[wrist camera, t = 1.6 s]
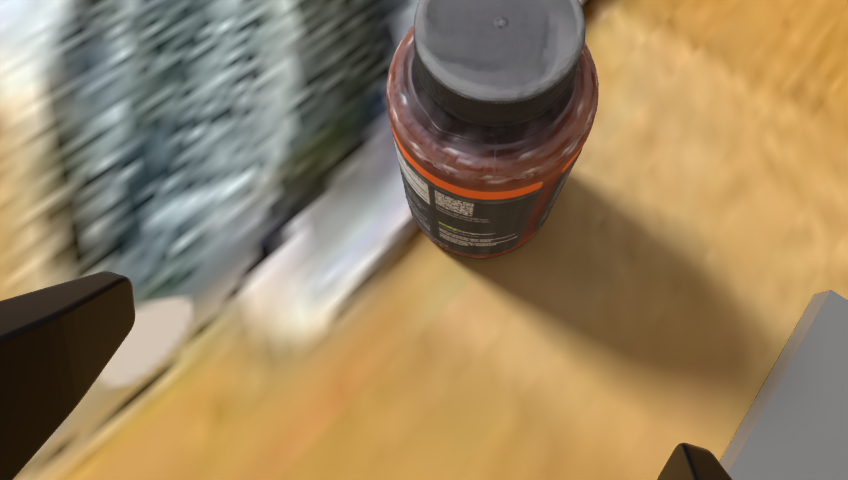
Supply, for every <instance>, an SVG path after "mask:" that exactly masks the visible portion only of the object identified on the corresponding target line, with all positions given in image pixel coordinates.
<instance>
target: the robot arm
mask: <svg viewBox="0 0 848 480" xmlns="http://www.w3.org/2000/svg"><path fill="white" fill-rule="evenodd" d="M134 321H135V308H134V298H133V287H132V283H131V281H130V279H129V278H127V277H125V276H122V275H119V274H115V273H112V272H107V271H104V272H99V273H96V274H93V275H89V276H86V277H82V278H79V279H75V280H72V281H68V282H65V283H61V284H58V285H54V286H51V287H47V288H44V289H40V290H37V291H34V292H30V293H27V294H23V295H20V296H16V297H13V298H9V299H6V300H2V301H0V480H13V479H14V478H15V476H16V475H17V474H18V473H19V472H20V471H21V469H22V468H23V467H24V466H25V465H26V464H27V463H28V461H29V460H30V459H31V458H32V457H33V456H34V455H35V453H36V452H37V451H38V450H39V449H40V448H41V447H42V445H43V444H44V443H45V442H46V441H47V440H48V439H49V437H50V436H51V435H52V434H53V433H54V432H55V431H56V429H57V428H58V427H59V426H60V425H61V424H62V423H63V421H64V420H65V419H66V418H67V417H68V416H69V414H70V413H71V412H72V411H73V410H74V408H75V407H76V406H77V405H78V403H79V402H80V401H81V399H82V398H83V397H84V396H85V394H86V393H87V391H88V390H89V389H90V387H91V386H92V384H93V383H94V382H95V380H96V379H97V377H98V376H99V375H100V373H101V372H102V370H103V369H104V368H105V366H106V365H107V363H108V362H109V360H110V359H111V358H112V356H113V355H114V353H115V352H116V351H117V349H118V348H119V346H120V345H121V344H122V342H123V341H124V339H125V338H126V337H127V335H128V334H129V332H130V331H131V329H132V327H133V324H134ZM657 480H732V478H731V477H730V476H729V474H728V473H727V472H726V471H725V469H724V468H723V467H722V465H721V464H720V463H719V461H718V460H717V459H716V458H715V456H714V455H713V454H712V453H711V452H710V451H709V450H707V449H704V448H701V447H698V446H694V445H691V444H688V443H680V444H679V445H677V447H676V448H675V449H674V451H673V453H672V454H671V456H670V458H669V459H668V461H667V463H666V465H665V466H664V468H663V470H662V471H661V473H660V475H659V477H658V479H657Z"/></svg>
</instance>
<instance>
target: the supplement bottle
mask: <svg viewBox="0 0 848 480" xmlns="http://www.w3.org/2000/svg"><path fill="white" fill-rule="evenodd" d="M598 85H599V84H598V77H597V73H596V68H595V64H594V61H593V59H592V56H591V53H590V51H589V49H588V47H587V45H586V43H585V19H584V14H583V10H582V7H581V4H580V2H579V0H420V1H419V3H418V6H417V10H416V14H415V19H414V26H413V27H411V28H410V30H409V31H408V32H407V34H406V35H405V37H404V38H403V39H402V40H401V42H400V44H399V46H398V48H397V50H396V51H395V54H394V57H393V60H392V62H391V65H390V68H389V74H388V78H387V89H386V101H387V108H388V114H389V118H390V123H391V129H392V133H393V137H394V142H395V146H396V151H397V156H398V160H399V165H400V169H401V174H402V179H403V183H404V188H405V193H406V198H407V201H408V204H409V207H410V210H411V213H412V216H413V218H414V219H415V221H416V223H417V224H418V226H419V227H420V229H421V230H422V231H423V233H424V234H425V235H426V236H427V237H428V238H429V239H430V240H431V241H432V242H434V243H436V244H437V245H439V246H440V247H442V248H444V249H446V250H448V251H449V252H452V253H455V254H458V255H461V256H467V257H473V258H488V257H494V256H498V255H502V254H505V253H507V252H510V251H512V250H514V249H516V248H518V247H519V246H521V245H522V244H524V243H525V242H526V241H528V240H529V239H530V238H531V237H533V235H534V234H535V233H536V232H537V231H538V230H539V228H540V227H541V226H542V224H543V223H544V221H545V219H546V218H547V216H548V214H549V212H550V210H551V208H552V206H553V204H554V202H555V200H556V199H557V196H558V194H559V193H560V191H561V189H562V187H563V185H564V183H565V181H566V179H567V177H568V175H569V173H570V171H571V169H572V167H573V165H574V164H575V162H576V160H577V158H578V156H579V155H580V153H581V150H582V147H583V145H584V143H585V142H586V140H587V137H588V135H589V133H590V130H591V128H592V125H593V122H594V118H595V114H596V111H597V105H598Z"/></svg>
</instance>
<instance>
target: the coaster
mask: <svg viewBox="0 0 848 480" xmlns="http://www.w3.org/2000/svg"><path fill="white" fill-rule="evenodd" d="M719 463H720V464H721V465H722V467H723V468H724V469H725V471H726V472H727V473H728V474H729V476H730V477H731V478H732V480H848V300H847V299H845V298H843V297H842V296H840V295H838V294H837V293H835V292H833V291H832V290H828V291H825V292H821V293H818V294H814V296H813V298H812V299H811V301H810V303H809V305H808V307H807V308H806V310H805V312H804V314H803V315H802V317H801V319H800V321H799V322H798V324H797V326H796V328H795V330H794V331H793V333H792V335H791V337H790V338H789V340H788V342H787V344H786V345H785V347H784V349H783V351H782V352H781V354H780V356H779V358H778V360H777V361H776V363H775V365H774V367H773V368H772V370H771V372H770V374H769V375H768V377H767V379H766V381H765V383H764V384H763V386H762V388H761V390H760V391H759V393H758V395H757V397H756V398H755V400H754V402H753V404H752V406H751V407H750V409H749V411H748V413H747V414H746V416H745V418H744V420H743V421H742V423H741V425H740V427H739V429H738V430H737V432H736V434H735V436H734V437H733V439H732V441H731V443H730V444H729V446H728V448H727V450H726V451H725V453H724V455H723V457H722V459H721V460H720V462H719Z"/></svg>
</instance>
